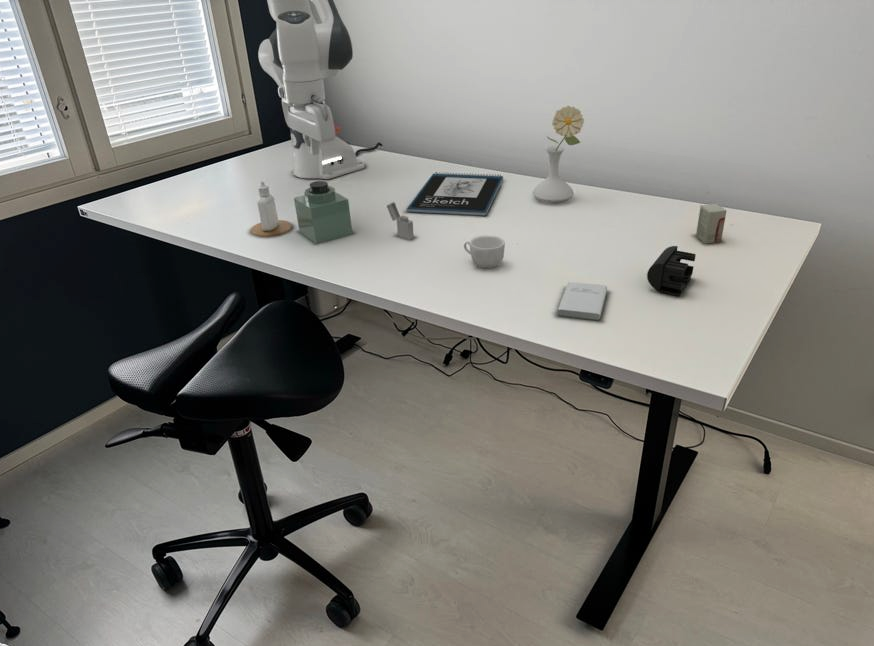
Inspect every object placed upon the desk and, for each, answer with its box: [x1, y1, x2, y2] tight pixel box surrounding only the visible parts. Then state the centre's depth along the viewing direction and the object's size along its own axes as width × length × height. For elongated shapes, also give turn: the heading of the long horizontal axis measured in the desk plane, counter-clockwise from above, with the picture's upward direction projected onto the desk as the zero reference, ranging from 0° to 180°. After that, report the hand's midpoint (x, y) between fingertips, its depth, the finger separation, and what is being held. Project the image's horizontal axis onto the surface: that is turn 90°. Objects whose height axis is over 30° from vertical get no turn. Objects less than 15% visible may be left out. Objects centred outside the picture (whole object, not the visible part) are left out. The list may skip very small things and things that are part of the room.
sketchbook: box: [406, 171, 504, 217], centre depth 192 cm, size 22×30×2 cm
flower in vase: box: [532, 105, 585, 203], centre depth 181 cm, size 13×11×25 cm
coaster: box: [251, 219, 292, 238], centre depth 174 cm, size 10×10×1 cm
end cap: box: [646, 245, 697, 297], centre depth 140 cm, size 10×7×7 cm
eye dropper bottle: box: [257, 180, 279, 231], centre depth 171 cm, size 4×6×12 cm
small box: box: [695, 203, 728, 244], centre depth 159 cm, size 5×4×8 cm
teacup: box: [463, 235, 506, 269], centre depth 152 cm, size 10×8×5 cm
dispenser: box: [293, 185, 353, 244], centre depth 169 cm, size 10×10×11 cm
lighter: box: [386, 201, 415, 240], centre depth 166 cm, size 7×2×8 cm, turn 51°
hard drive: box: [557, 281, 608, 321], centre depth 136 cm, size 2×8×12 cm
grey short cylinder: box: [309, 180, 329, 194], centre depth 165 cm, size 4×4×2 cm
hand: (313, 153), depth 161 cm, fingers closed
